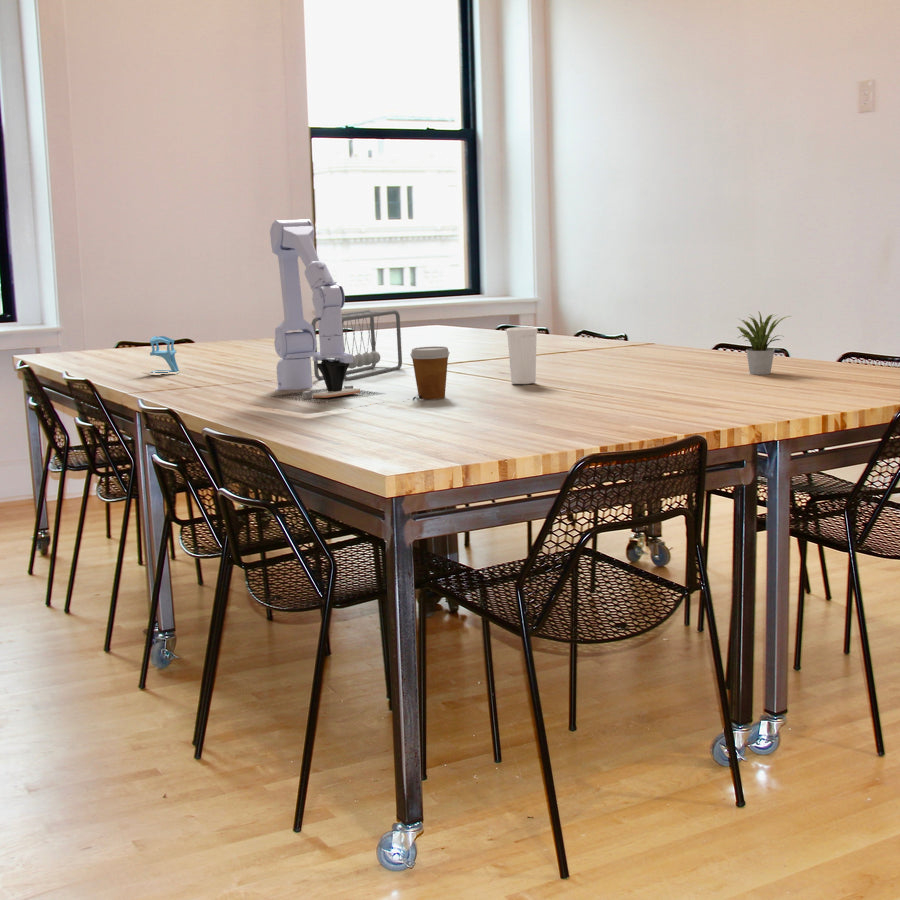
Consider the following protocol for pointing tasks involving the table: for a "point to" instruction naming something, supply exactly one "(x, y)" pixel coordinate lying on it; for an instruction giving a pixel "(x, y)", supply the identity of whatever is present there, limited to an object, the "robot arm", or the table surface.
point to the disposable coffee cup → (430, 371)
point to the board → (309, 393)
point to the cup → (522, 354)
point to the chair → (164, 352)
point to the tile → (335, 393)
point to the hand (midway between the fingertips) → (334, 391)
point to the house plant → (759, 345)
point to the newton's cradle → (366, 357)
